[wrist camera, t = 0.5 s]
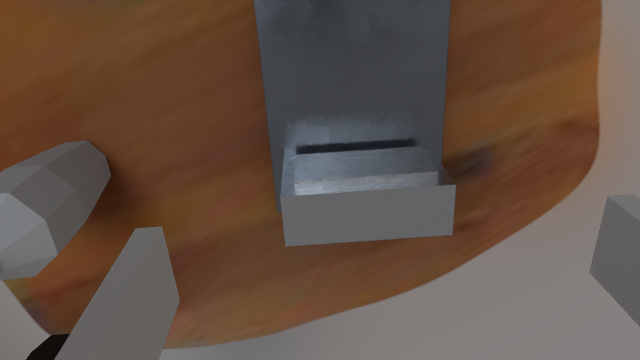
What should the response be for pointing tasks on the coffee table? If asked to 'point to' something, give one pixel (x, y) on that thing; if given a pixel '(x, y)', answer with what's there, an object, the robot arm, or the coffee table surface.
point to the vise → (357, 117)
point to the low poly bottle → (47, 204)
